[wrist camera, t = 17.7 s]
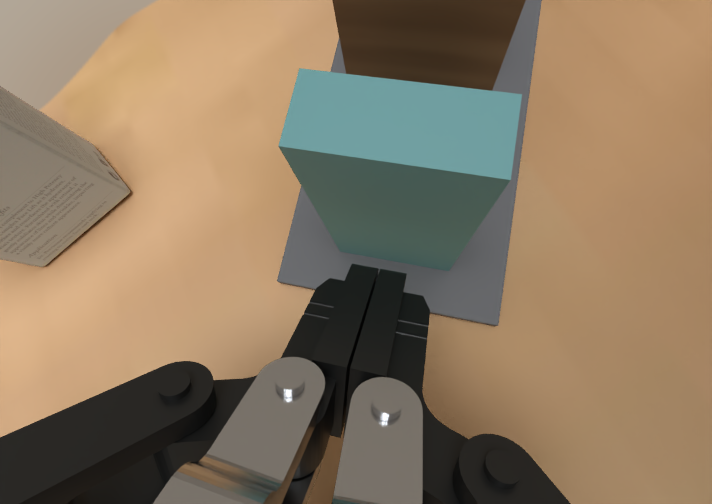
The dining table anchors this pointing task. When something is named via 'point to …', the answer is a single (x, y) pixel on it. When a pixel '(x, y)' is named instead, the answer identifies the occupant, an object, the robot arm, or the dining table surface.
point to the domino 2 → (400, 161)
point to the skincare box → (48, 184)
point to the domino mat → (482, 253)
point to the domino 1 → (427, 39)
